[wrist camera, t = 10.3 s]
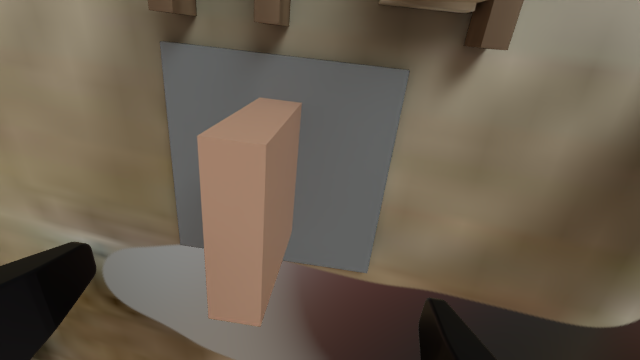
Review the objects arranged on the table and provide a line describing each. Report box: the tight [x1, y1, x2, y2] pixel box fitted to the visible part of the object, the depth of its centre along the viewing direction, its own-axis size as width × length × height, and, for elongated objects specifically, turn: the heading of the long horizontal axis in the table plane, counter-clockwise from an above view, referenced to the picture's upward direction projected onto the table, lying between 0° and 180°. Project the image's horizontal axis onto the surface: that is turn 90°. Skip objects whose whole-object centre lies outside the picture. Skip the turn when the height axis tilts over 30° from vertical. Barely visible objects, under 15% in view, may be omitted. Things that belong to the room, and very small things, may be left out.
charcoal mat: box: [160, 41, 410, 273], centre depth 20 cm, size 14×14×1 cm
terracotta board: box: [197, 98, 302, 327], centre depth 17 cm, size 2×9×8 cm, turn 174°
